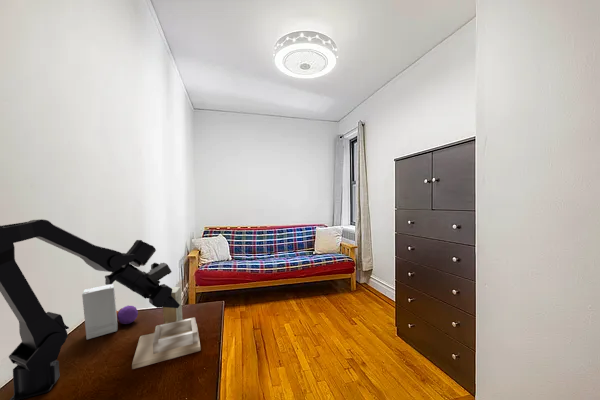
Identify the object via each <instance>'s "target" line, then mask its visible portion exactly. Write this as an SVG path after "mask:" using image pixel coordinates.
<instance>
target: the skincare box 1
mask: <svg viewBox="0 0 600 400" xmlns="http://www.w3.org/2000/svg"><path fill="white" fill-rule="evenodd" d="M81 297H82V305H83V306H82V307H83V317H84V327H85V336H86V337H85V338H86V340H91V339H94V338H98V337H100V336H104V335H107V334H112V333H114V332H117V331H118V325H119V324H118V319H117V313H116V310H117V305H116V302H117V301H116V291H115V284H114V283H113V284H109V285H106V284H105V285H100V286H95V287H90V288H85V289H83V293H82V294H81Z"/></svg>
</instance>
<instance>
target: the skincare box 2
mask: <svg viewBox="0 0 600 400" xmlns="http://www.w3.org/2000/svg"><path fill="white" fill-rule="evenodd" d="M181 287H182V286H175V287H171V288H172V294H171V295H172V297H173V298H174V299H175V300H176V301H177V302H178V303H179V304H180V306H179V307H178V308H167V307H162V313H163V314H162V317H163V318H162V319H163V324H167V323H171V322H176V321H180V320H183V306H182V305H183V304H182V288H181Z"/></svg>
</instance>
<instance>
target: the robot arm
mask: <svg viewBox="0 0 600 400" xmlns="http://www.w3.org/2000/svg"><path fill="white" fill-rule="evenodd" d="M34 238H36V239H38V240H40V241H43V242H45V243H47V244H50V245H52V246H54V247H56V248H58V249H61V250H62V251H65V252H67V253H70V254H72V255H74V256H76V257H78V258H80V259H82V260H83V261H84V263H85V264H87V265H88V266H89V267H90V268H92V269H93V270H95V271H98V272H108V273H110V274H106V275H105V276H104V279H105V280H104V283H105V285H109V284H114V282H115V281H116V282H117V283H118V284H121V285H122V286H123V287H126V288H127V289H129V290H130V291H132V292H133V293H136V294H138V296H139V295H140V296H141V297H142V298H144V299H148V301H149V304H151V305H152V306H154V307H156V308H157V309H158V308H163V307H167V308H178V307H179V306H180V304H179V303H178V302H177V301H176V300H175V299H174V298H173V297H172V295H171V294H172V287H170V286H168V285H167V284H165V283H163V284H160V283H161V281H160V280H162V279H163V278H164V277H166V276H167V275H170V274H171V273H172V272H173V271H172V270H171V268H170V266H169V265H168V264H167V263H165V262H160V263H157V262H153V263H152V264H151V265H150V269H149V271H148V272H146V271H142V270H140V269H139V268H140V267H141V266H142V267H143V266H144V267H145V265H147V263H148V262H149V260H151V258H152V257H153V255H154V254H155V252H156V251H157V250H156V248H155V246H153V245H151V244H149V243H147V242H145V241H143V240H141V239H136V240H135V241H134V243H133V244H132V246H131V247H130V248H129V249H128V250H127V252H126V253H125V252H120V251H117V250H114V249H111V248H107V247H103V246H99V245H95V244H93V243H91V242H89V241H88V240H85V239H83V238H82V237H80V236H78V235H75V234H74V233H72V232H70V231H67V230H65V229H64V228H62V227H59V226H57V225H55V224H53V223H52V222H51V221H50V220H47V219H43V218H41V219H31V220H29V221H23V222H18V223H17V222H16V223H10V224H3V225H0V294H1V295H2V297H3V299H4V300H5V302H6V303H7V305H8V307H9V308H10V309H11V312H13V314H14V316H15V318H16V319H17V321H18V323H19V324H18V327H19V336H20V339H21V341H20V343H19V344H18V345H17V346H16V347H15V349H14V350H13V351H12V352H11V353H10V354H9V355H8V359H9V360H10V361H11V363H12V364H13V365H14V364H15V365H16V366H14V368H12V380H13V382H12V383H13V395H12V396H11V398H9V400H20V399H21V400H24V398H25V399H29V398H32V397H35V396H39V395H41V394H46V393H49V392H50V390H52V389H53V386H54V385H55V384H56V383H57V381H58V380H59V379H60V376H61V374H60V361H59V360H58V358H59V355H60V351H61V350H62V346H64V344H65V343H66V341H67V339H68V337H69V336H68V335H69V334H68V329H70V327H69V326H68V325H66V324H65V322H64V318H63V316H62V315H61V314H60V313H56V312H51V311H47V312H46V311H45V309H44V306H42V304H41V302H40V301H39V299H38V297H37V295H36V294H35V292H34V290H33V289H32V287H31V285H30V284H29V282H28V279H26V277H25V275H24V274H23V271H22V270H21V268H20V267H19V265H18V263H17V262H16V258H15V256H16V255H15V251H16V250H15V247H16V246H15V243H20V242H23V241H28V240H31V239H34Z"/></svg>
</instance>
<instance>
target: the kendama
mask: <svg viewBox="0 0 600 400" xmlns="http://www.w3.org/2000/svg"><path fill="white" fill-rule="evenodd" d="M116 313H117V321H118V322H119V323H120V324H122V325H129V324H131V323H133V322H135V321H136V319H137V318H138V315H139V312H138V309H137V307H136V306H134V305H126V306H124V307H122V308H120V309H119V310H117V309H116Z"/></svg>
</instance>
